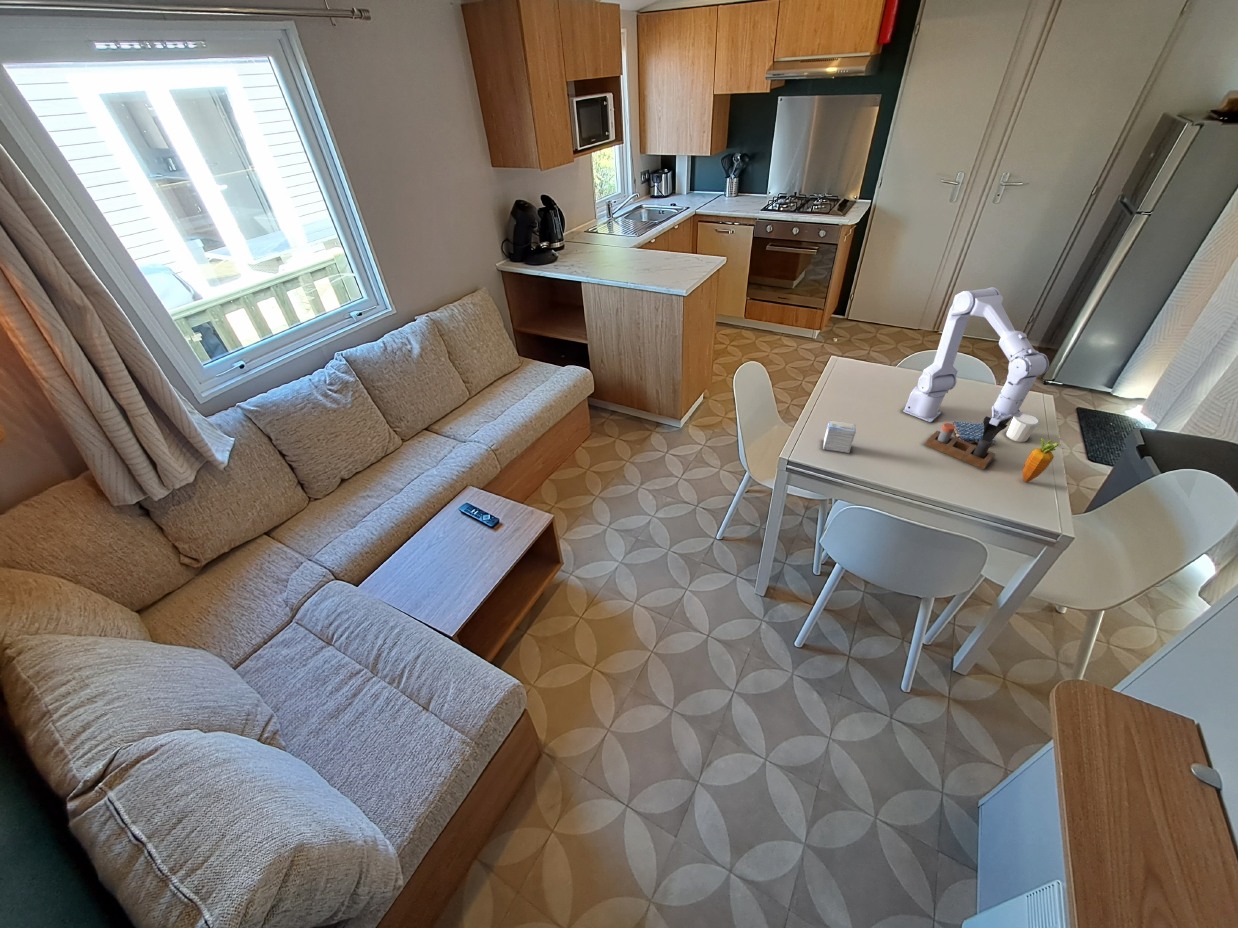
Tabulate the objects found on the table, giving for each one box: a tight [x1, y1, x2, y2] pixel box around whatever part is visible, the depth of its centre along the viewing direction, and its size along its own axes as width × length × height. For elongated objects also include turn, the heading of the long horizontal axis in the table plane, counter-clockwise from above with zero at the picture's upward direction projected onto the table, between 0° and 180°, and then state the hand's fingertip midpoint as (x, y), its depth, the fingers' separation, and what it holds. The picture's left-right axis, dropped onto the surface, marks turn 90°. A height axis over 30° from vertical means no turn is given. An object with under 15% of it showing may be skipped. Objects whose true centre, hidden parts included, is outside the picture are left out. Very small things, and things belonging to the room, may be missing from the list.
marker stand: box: [925, 430, 996, 470], centre depth 153 cm, size 17×7×2 cm, turn 41°
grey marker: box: [937, 422, 955, 444], centre depth 154 cm, size 3×3×8 cm
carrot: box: [1022, 438, 1060, 483], centre depth 137 cm, size 5×5×15 cm
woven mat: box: [951, 420, 996, 446], centre depth 159 cm, size 10×11×2 cm
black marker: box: [972, 438, 994, 459], centre depth 148 cm, size 3×3×8 cm
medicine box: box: [822, 420, 857, 454], centre depth 156 cm, size 8×4×9 cm, turn 71°
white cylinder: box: [1005, 412, 1041, 443], centre depth 156 cm, size 7×7×7 cm
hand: (991, 434), depth 144 cm, fingers open, 7 cm apart
